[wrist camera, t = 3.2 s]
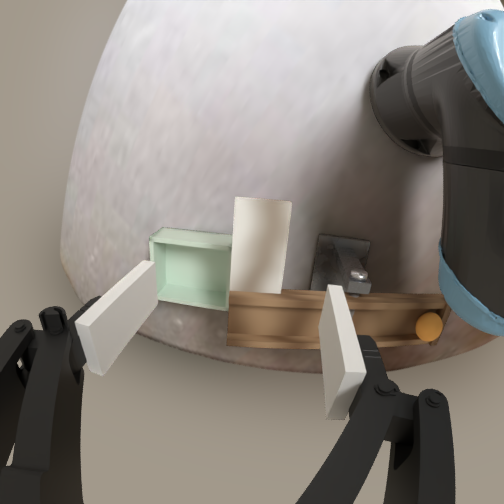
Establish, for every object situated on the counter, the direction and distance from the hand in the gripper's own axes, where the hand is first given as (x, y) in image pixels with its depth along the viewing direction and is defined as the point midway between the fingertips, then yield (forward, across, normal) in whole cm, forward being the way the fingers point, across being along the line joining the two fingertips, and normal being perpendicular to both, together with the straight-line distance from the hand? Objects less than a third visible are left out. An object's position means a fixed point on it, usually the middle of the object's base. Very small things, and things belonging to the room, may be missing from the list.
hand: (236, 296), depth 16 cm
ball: (+13, +21, -9) cm, 26 cm away
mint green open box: (+24, -9, -9) cm, 27 cm away
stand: (+24, +10, -9) cm, 27 cm away
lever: (+14, +10, -5) cm, 18 cm away
